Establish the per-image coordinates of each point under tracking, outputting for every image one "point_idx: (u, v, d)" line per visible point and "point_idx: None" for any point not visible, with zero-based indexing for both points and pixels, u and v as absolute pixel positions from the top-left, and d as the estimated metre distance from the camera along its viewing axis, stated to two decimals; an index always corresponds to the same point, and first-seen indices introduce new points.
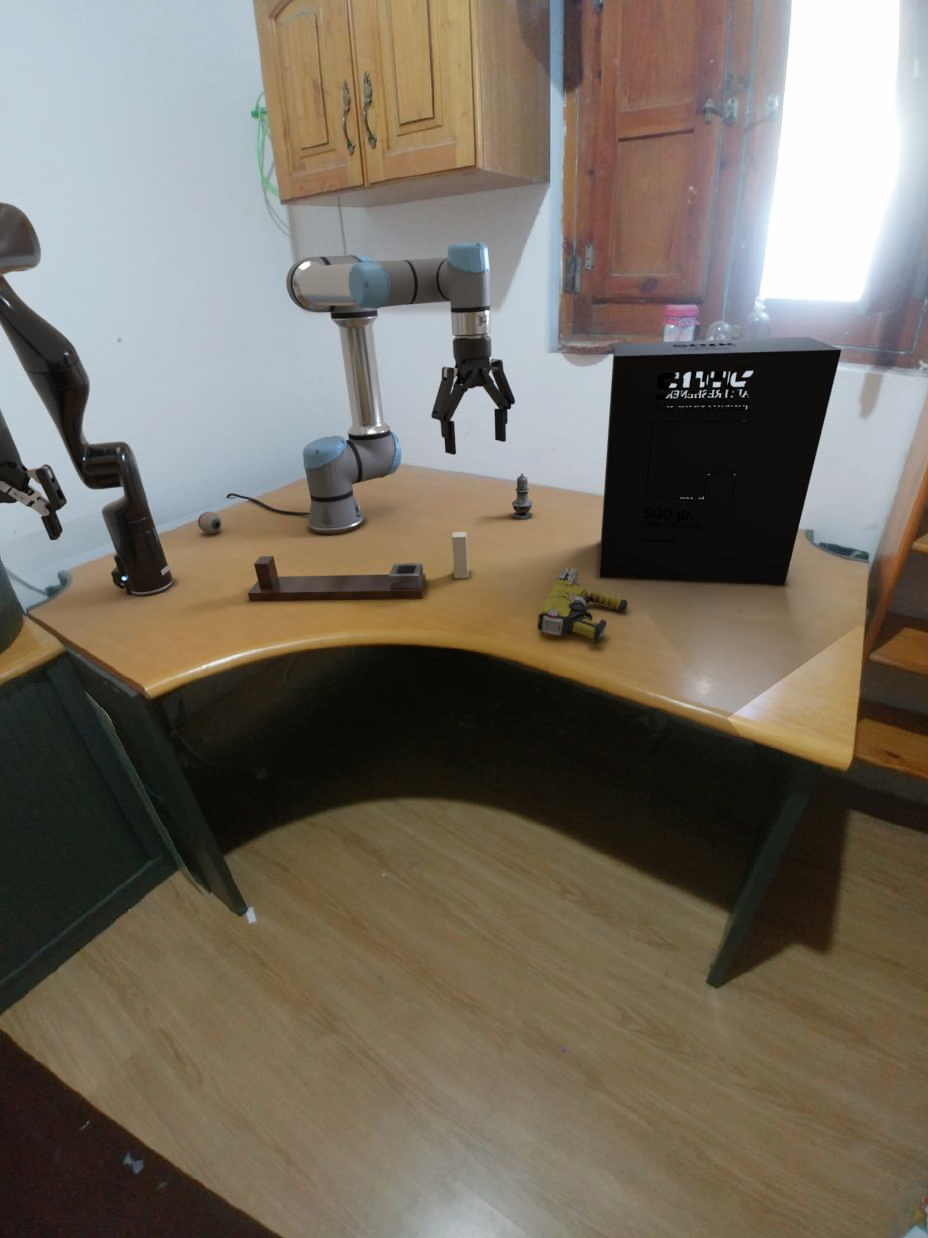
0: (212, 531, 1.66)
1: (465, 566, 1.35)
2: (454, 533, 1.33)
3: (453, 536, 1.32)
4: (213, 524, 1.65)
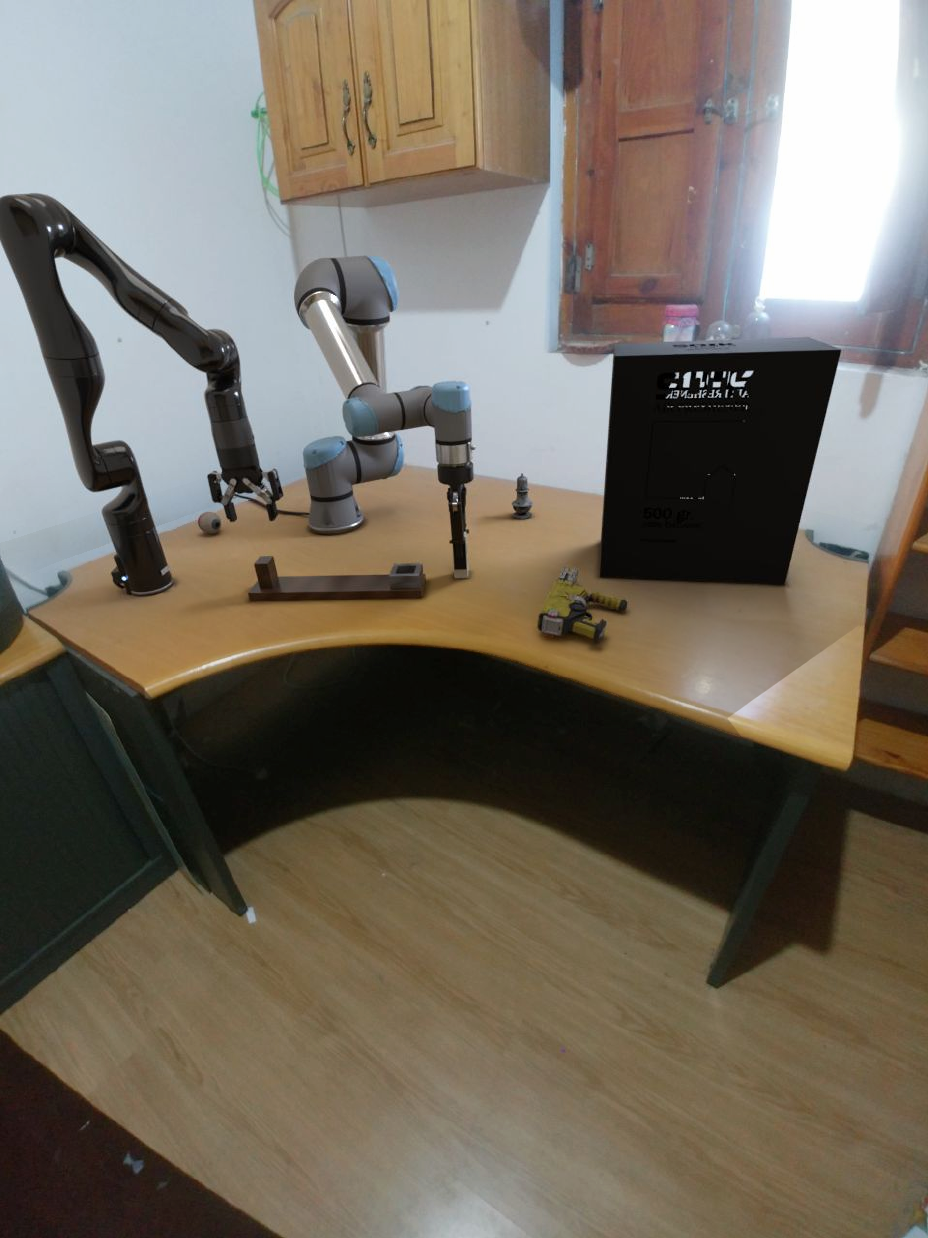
0: (212, 531, 1.66)
1: None
2: None
3: None
4: (213, 524, 1.65)
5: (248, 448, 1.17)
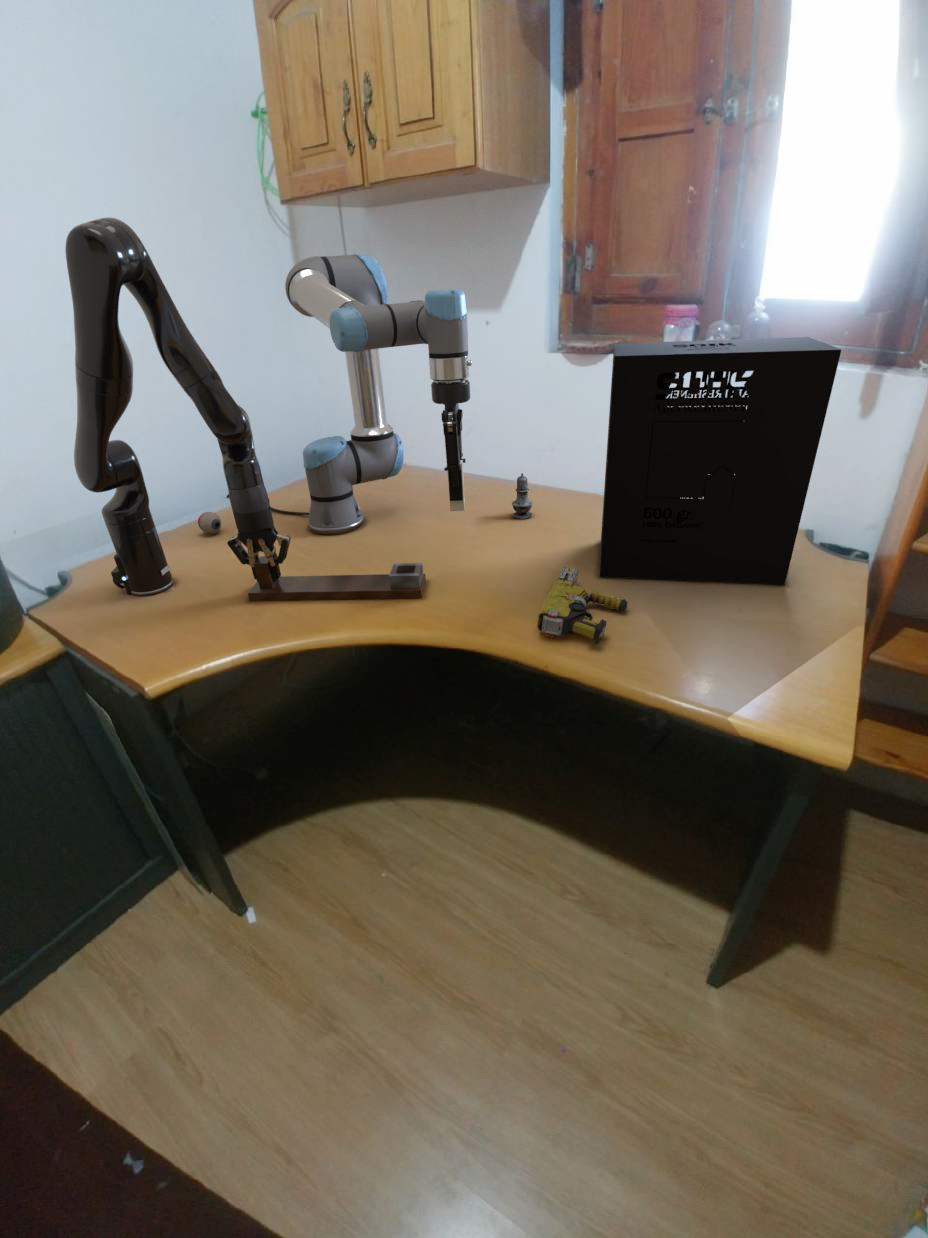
0: (212, 531, 1.66)
1: None
2: None
3: None
4: (213, 524, 1.65)
5: (264, 512, 1.24)
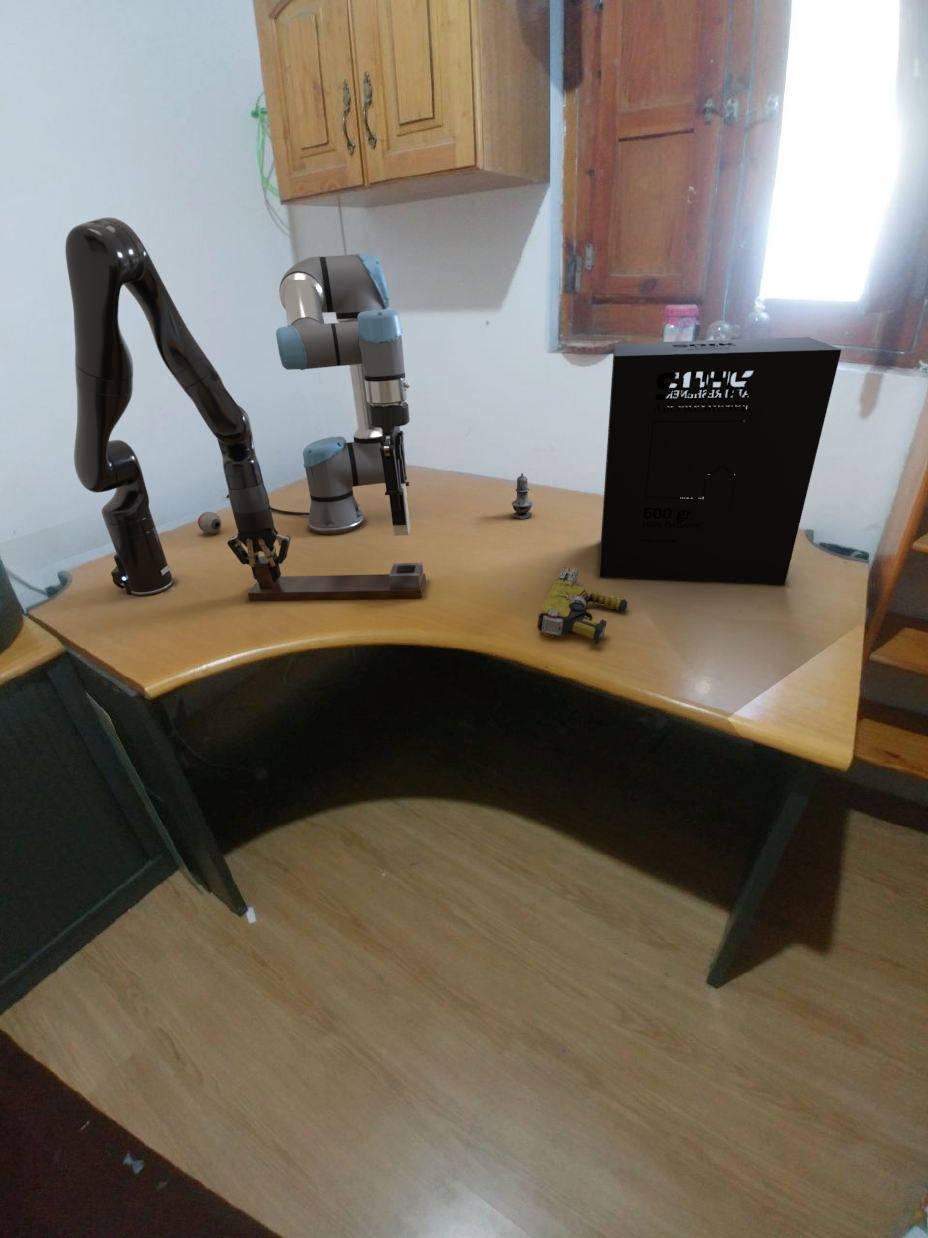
0: (212, 531, 1.66)
1: None
2: None
3: None
4: (213, 524, 1.65)
5: (264, 512, 1.24)
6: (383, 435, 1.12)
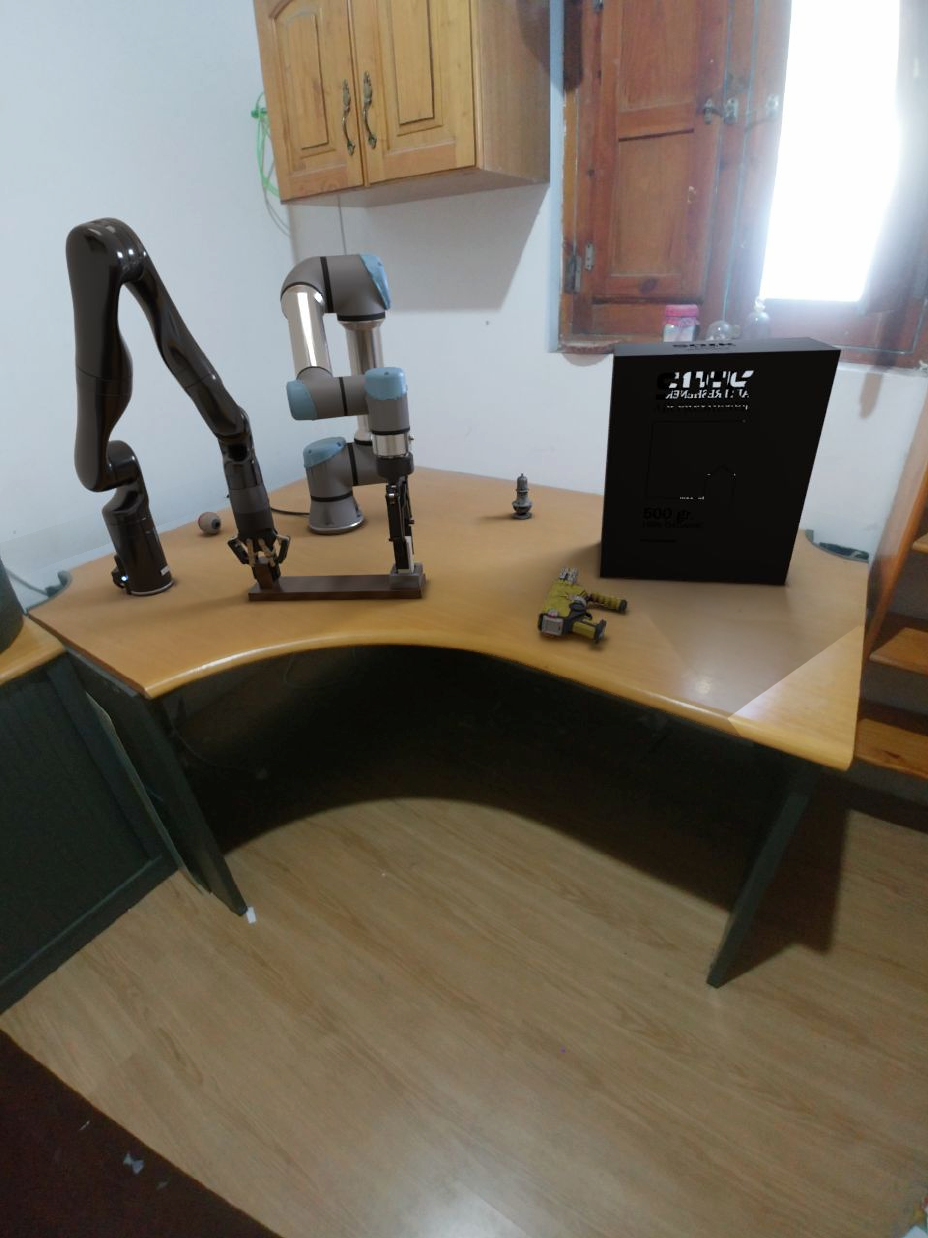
0: (212, 531, 1.66)
1: (410, 572, 1.29)
2: None
3: None
4: (213, 524, 1.65)
5: (264, 512, 1.24)
6: (389, 485, 1.17)
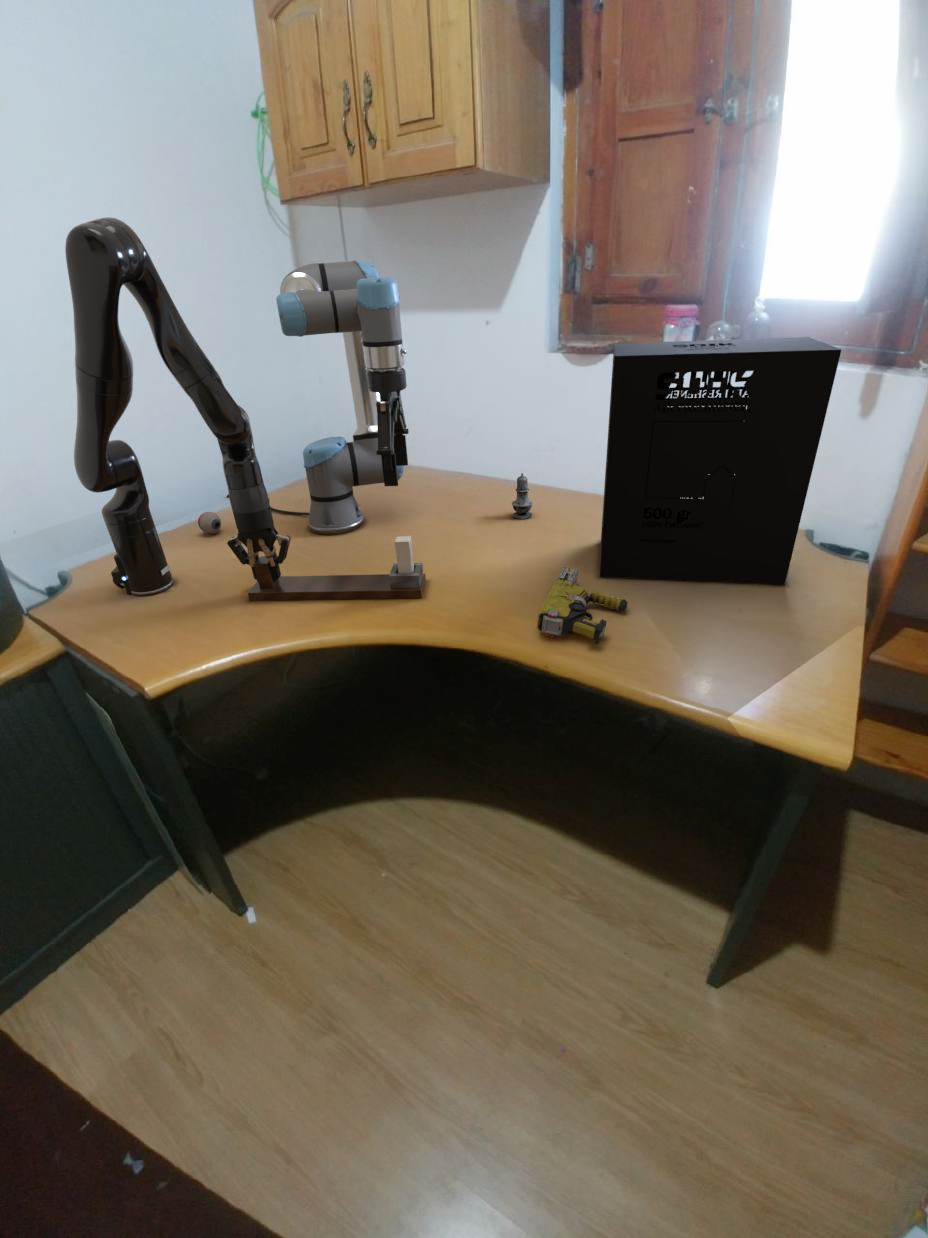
0: (212, 531, 1.66)
1: (410, 572, 1.29)
2: (398, 537, 1.27)
3: (396, 541, 1.26)
4: (213, 524, 1.65)
5: (264, 512, 1.24)
6: (381, 400, 1.17)
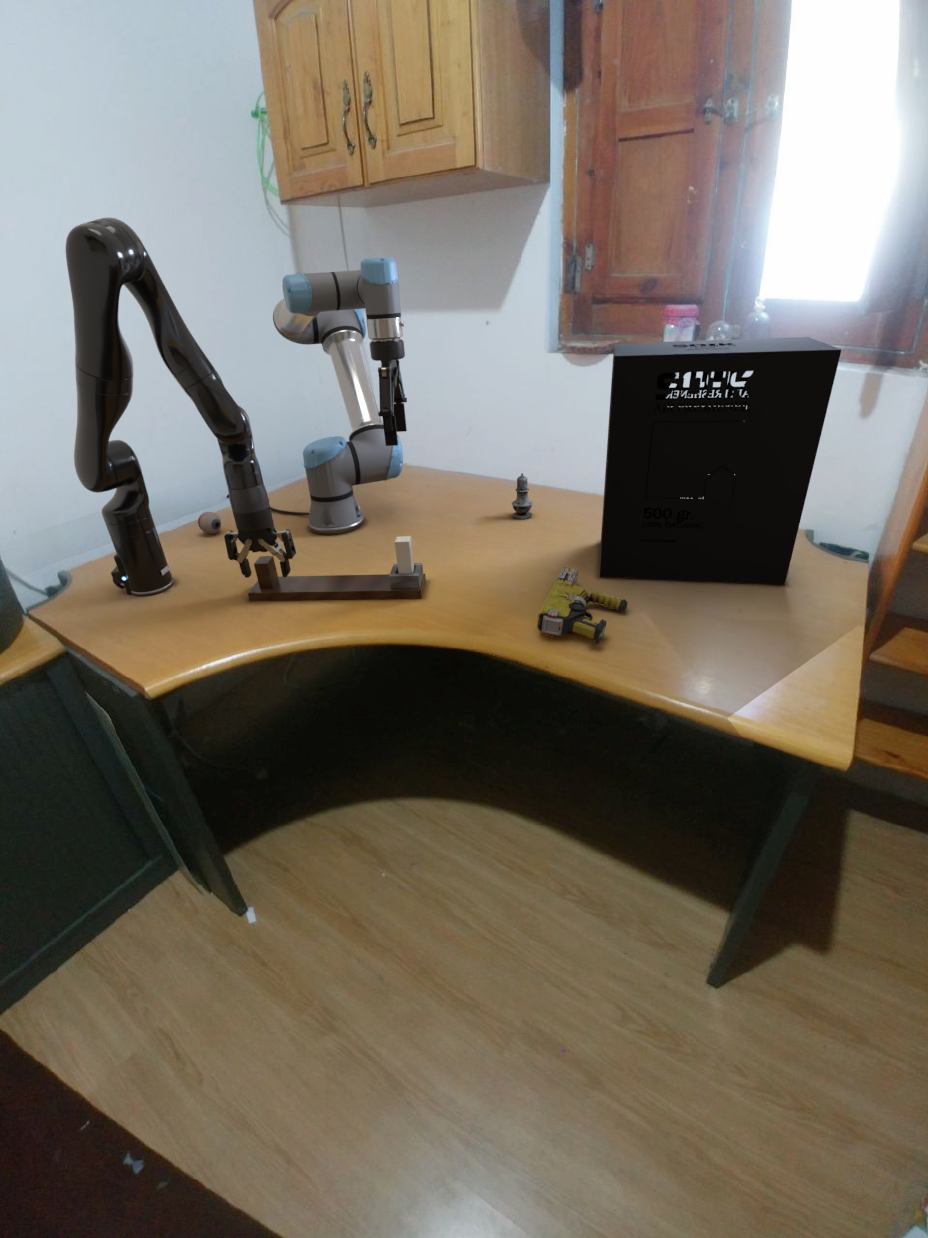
0: (212, 531, 1.66)
1: (410, 572, 1.29)
2: (398, 538, 1.27)
3: (396, 541, 1.26)
4: (213, 524, 1.65)
5: (264, 512, 1.24)
6: (382, 367, 1.31)
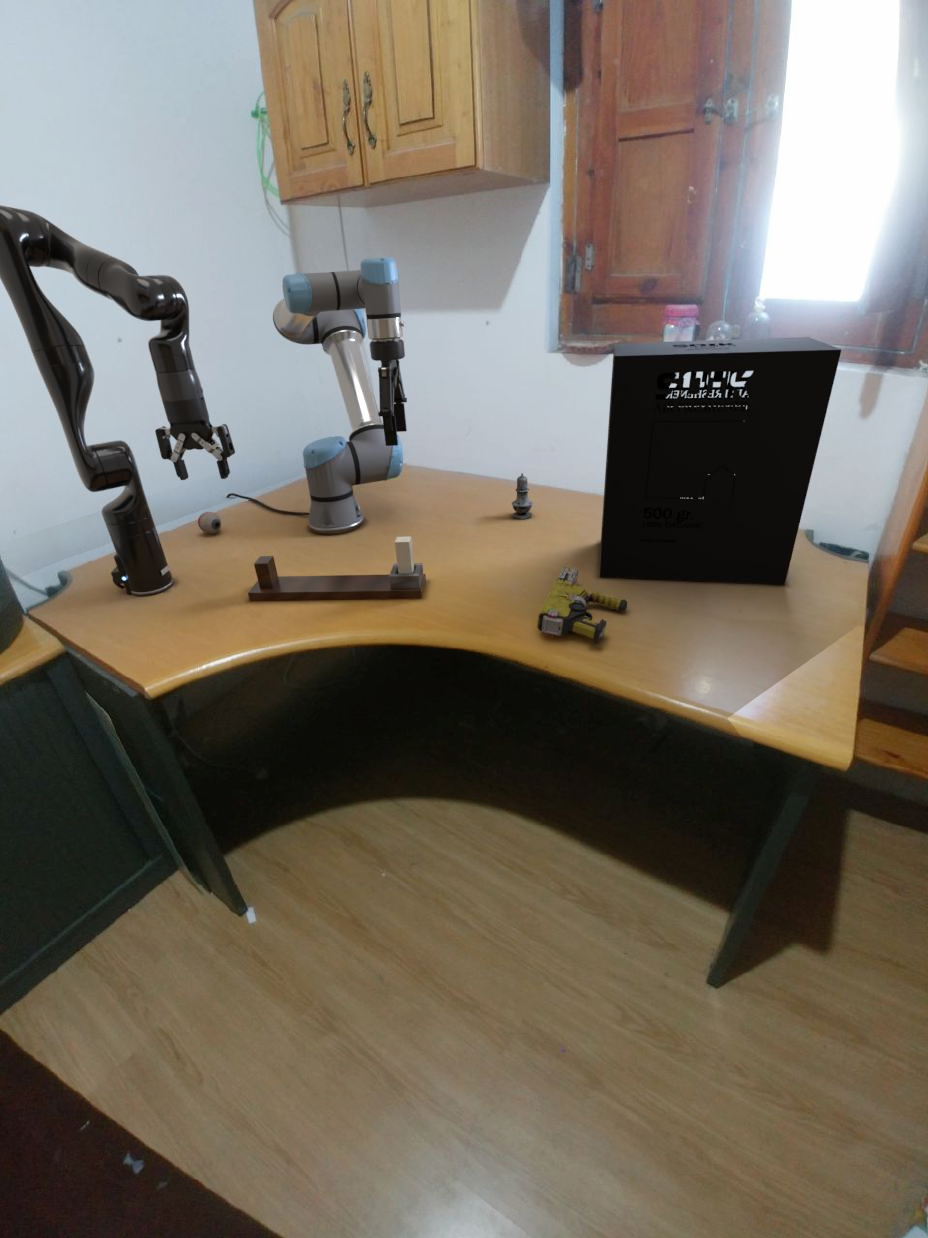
0: (212, 531, 1.66)
1: (410, 572, 1.29)
2: (398, 538, 1.27)
3: (396, 541, 1.26)
4: (213, 524, 1.65)
5: (196, 401, 1.14)
6: (382, 367, 1.31)
